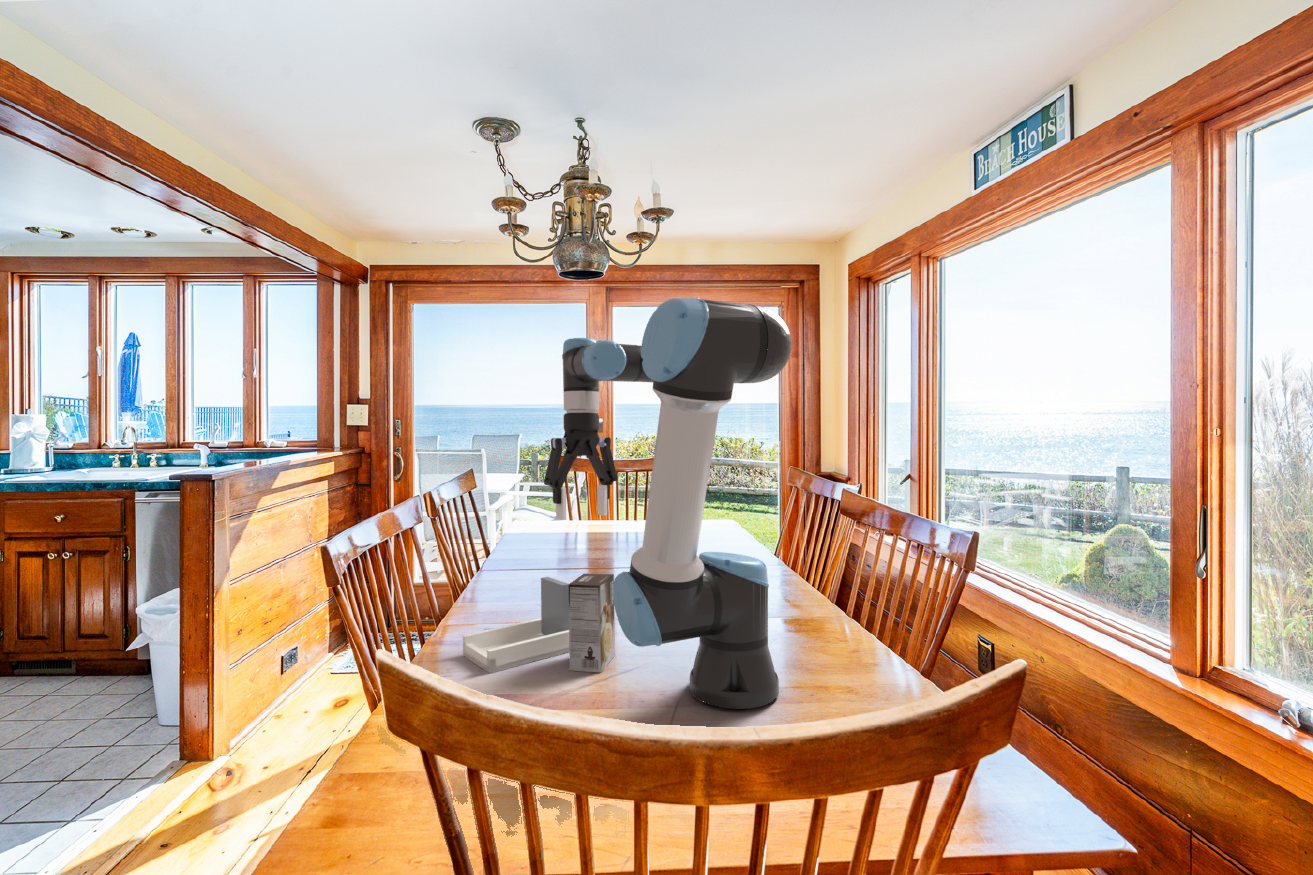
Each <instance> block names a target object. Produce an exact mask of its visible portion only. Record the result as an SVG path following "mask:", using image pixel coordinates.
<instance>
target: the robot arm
mask: <svg viewBox="0 0 1313 875" xmlns="http://www.w3.org/2000/svg"><path fill="white" fill-rule="evenodd" d="M562 346H563V347H562V355H561V359H562V373H563V374H562V379H563V381H562V382H563V386H562V388H563V389H562V390H563V392H562V393H563V410H564V411H565V413H564V414H563V430H564V434H563V437H560V438H559V437H552V438H551V439H550V449H551V450H550V453H549V458H548V462H547V467H546V471H545V475H544V480H543V484H544V485H545V486H548V487H550V488H552V503H553V504H555V520H559V521H560V520H561V521H566V520H567V488H566V487H563V486H564V483H565V481H567V477H568V474H569V473H570V470H571V468H572V466H573V464H574V463H575V460H577V459H578V457H583V456H585V457H586V458H587V459H588V460H589V462H590V465H591V466H592V468H593V470H594V473H595V475H596V477H597V478H598V479H597V480H598V481H599V483H600V484H597V486H596V493H597V494H596V497H597V498H596V503H597V504H596V505H597V507H596V508H597V509H596V512H597V515H598V516H608V500H610V497H611V496H610V495H611V494H610V493H611V492H610V489H611V488H610V486H611V485H614V482H617V481H618V475H617V470H616V466H615V463H614V457H613V453H612V448H611V444H612V443H611V442H612V440H611V437H609V436H608V437H607V436H605V437H600V435H599V429H600V414H599V413H597V411H599V410H600V393H599V392H600V388H599V387H600V386H599V385H600V384H599V383H600V382H624V383H625V382H627V383H629V382H630V383H631V382H634V383H635V382H637V383H638V382H639V383H652V391H653V392H654V393H655V395H656V396H657V397H658V399H659V400H660V408H659V414H658V415H659V416H658V423H657V430H656V431H657V432H656V439H655V445H654V446H655V447H654V454H653V462H652V469H651V479H650V487H649V493H648V500H647V501H648V502H647V508H646V516H645V523H644V524H645V525H644V531H643V538H642V546H641V547H640V548H638V549H637V550H636V551H635V552H633V553H632V554H631V558H630V564H629V565H630V566H629V571H621V573H618V574H617V576H616V577H615V578H614V584H613V599H614V612H615V614H616V617H617V620H618V624H619V626H620V628H621V630H622V633H623V634H624V636H625V638H627V640H628V641H629V642H630V643H631V644H632V645H635V646H636V647H642V648H645V647H650V646H656V647H660V646H661V645H663V644H664V645H665V644H669V643H674V642H678V641H679V642H680V641H686V640H690V639H696V638H699V642H698V643H699V644H698V647H697V651H696V654H695V657H694V658H695V659H694V661H693V663H694V664H693V666H692V669H691V670H690V674H689V692H690V694H691V695H692V696H693V695H694V696H695V697H696V698H697V699H696V698H695V697H694V696H693V697H694V698H695V699H696V700H698V699H699V700H698V701H700V700H701V701H700V702H702V701H704V702H706V703H709V704H711V705H710V706H713V705H715V706H714V707H717V706H718V707H717V708H723V707H724V709H736V710H741V709H742V710H744V709H745V708H746V709H755V708H759V707H763V706H765V705H766V706H767V705H768V703H769V704H771V703H772V702H774V701H775V700H776V699H777V698H778V697H779V695H780V684H779V683H780V681H779V680H780V679H779V677H778V674H777V672H776V670H775V667H774V663H773V660H772V656H771V652H770V649H769V618H768V617H769V611H768V610H769V603H768V602H769V601H768V600H769V587H770V584H769V581H768V580H769V578H768V568H767V565H766V564H765V563H764V561H762V560H761V559H759V558H756V557H752V556H749V555H745V554H738V553H732V552H731V553H730V552H723V551H722V552H721V551H704V552H701V553H699V555H697V554H698V547H699V543H700V542H699V541H700V535H701V530H702V521H703V516H704V508H705V502H706V497H707V496H706V495H707V491H708V490H707V489H708V483H709V478H710V477H709V476H710V472H711V465H712V463H711V462H712V457H713V450H714V444H715V438H716V432H717V431H716V430H717V426H718V418H719V413H720V412H719V411H720V409H721V408H723V407H724V406H725V405H727V404H728V403H729V402H730V401H732V396H733V390H734V384H755V383H756V384H757V383H763V382H765V381H768V380H770V379H773V378H774V377H776V376H777V375H778V374H779V373H780V372H782V370H784V368H785V366H786V365H787V364H788V362H789V359H790V357H791V353H792V346H793V344H792V336H791V333H790V330H789V328H788V326H787V324H786V323H785V321H784V319H782V317H780V315H778V314H777V313H775V312H774V311H773V310H771V309H769V308H767V307H764V306H760V305H758V304H750V303H749V304H746V303H745V304H744V303H736V302H730V301H729V302H728V301H721V300H712V299H710V300H709V299H704V298H700V297H689V298H686V297H685V298H684V297H673V298H669V299H667V300H664V301H663V302H662V303H661V304H659V306H658V307H656V310H654V312H653V313H652V314H651V315H650V318H649V319H648V322H647V324H646V327H645V329H644V332H643V336H642V339H641V345H637V344H623V343H617V342H616V341H614V340H608V339H606V340H596V339H594V338H589V337H588V338H587V337H573V338H568V339H566V340H565V341H564V342H563V345H562ZM597 446H598V447H599V450H598V449H597ZM564 447H566V449H565V452H564V453H563V448H564ZM562 454H563V458H562V460H561V457H562ZM600 456H601V457H600ZM778 694H779V695H778ZM777 696H778V697H777ZM776 697H777V698H776ZM775 698H776V699H775ZM774 699H775V700H774ZM773 700H774V701H773ZM704 702H703V703H704ZM770 702H771V703H770ZM706 703H705V704H706ZM709 704H708V705H709Z"/></svg>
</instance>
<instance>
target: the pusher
mask: <svg viewBox="0 0 1313 875" xmlns="http://www.w3.org/2000/svg"><path fill="white" fill-rule="evenodd" d="M569 584H570V583H568V582H564V581H561V580H559V579H556V578H553V577H550V576H545V577H540V601H541V602H540V604H541V606H540V611H541V616H540V618H541V632H542V634H544V635H550V634H554V633H558V632H562V631H566V630H569Z"/></svg>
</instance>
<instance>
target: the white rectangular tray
mask: <svg viewBox="0 0 1313 875" xmlns="http://www.w3.org/2000/svg"><path fill="white" fill-rule="evenodd" d="M563 653H564V654H568V653H569V630H566V631H562V632H558V633H554V634H550V635H544V634H542V632H541V617H540V618H535V619H530V620H526V621H521V622H518V623H517V622H516V623H511V624H508V625H504V626H503V625H502V626H499V627H494V628H489V629H486V630H481V631H477V632H471V633H467V634H463V635H462V656H463V655H464V656H465V657H464V656H463V657H464V658H466V659H467V660H469V661H471V662H472V663H473V664H475V665H476V666H478V667H480V668H481V669H483V670H484V671H485V672H487V673H488V674H494V673H498V672H500V671H504V670H508V669H512V668H515V667H518V666H523V665H527V664H530V663H533V662H537V661H541V660H544V659H545V660H546V659H549V658H552V657H556V656H559V654H560V655H564V654H563Z"/></svg>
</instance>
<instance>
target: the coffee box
mask: <svg viewBox="0 0 1313 875" xmlns="http://www.w3.org/2000/svg"><path fill="white" fill-rule="evenodd" d="M614 577H615V575H614V574H612V573H582V574H581V575H579V577H577V578H576V579H575V580H574V579H573V581H571V582H570V583H568V584H569V652H568V653H569V654H568V655H569V656H568V657H569V670H570V671H573V672H574V671H575V672H586V673H587V672H588V673H602V672H604V670H605V668H606V667H607V666H608V665H609V664H610V662H611V661H612V659H613V658H614V657H615V655H616V653H615V652H616V651H615V648H616V647H615V646H616V645H615V644H616V643H615V634H616V633H615V606H614V599H613V584H614V580H615V578H614Z"/></svg>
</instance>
